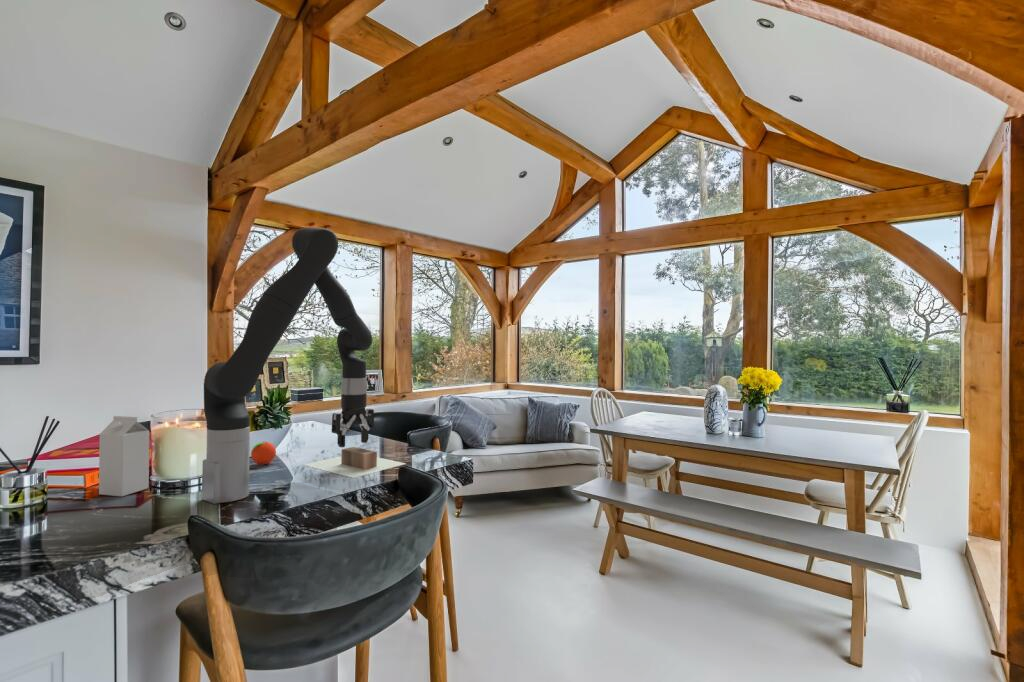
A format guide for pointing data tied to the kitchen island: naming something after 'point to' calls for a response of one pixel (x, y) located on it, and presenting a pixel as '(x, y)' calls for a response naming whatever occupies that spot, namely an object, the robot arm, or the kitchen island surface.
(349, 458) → the walnut block
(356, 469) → the cream flat board
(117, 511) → the kitchen island surface
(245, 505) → the kitchen island surface
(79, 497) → the kitchen island surface
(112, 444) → the milk carton
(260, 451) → the clementine
